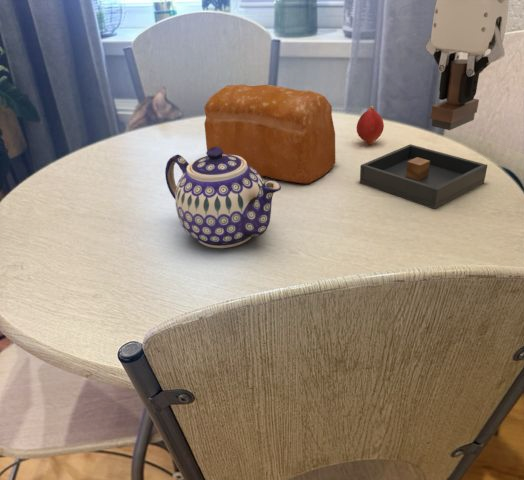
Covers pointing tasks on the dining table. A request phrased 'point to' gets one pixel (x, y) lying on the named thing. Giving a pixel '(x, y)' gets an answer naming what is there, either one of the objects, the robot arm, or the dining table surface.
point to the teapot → (220, 198)
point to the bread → (273, 130)
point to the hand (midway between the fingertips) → (456, 98)
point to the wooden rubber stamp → (454, 101)
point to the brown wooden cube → (417, 168)
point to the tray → (431, 187)
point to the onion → (370, 126)
